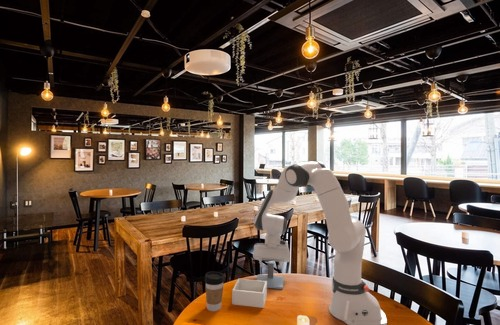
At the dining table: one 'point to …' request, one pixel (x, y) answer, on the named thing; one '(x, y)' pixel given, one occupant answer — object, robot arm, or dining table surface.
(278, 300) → the dining table surface
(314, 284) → the dining table surface
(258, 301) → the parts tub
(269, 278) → the lid
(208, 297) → the coffee cup
